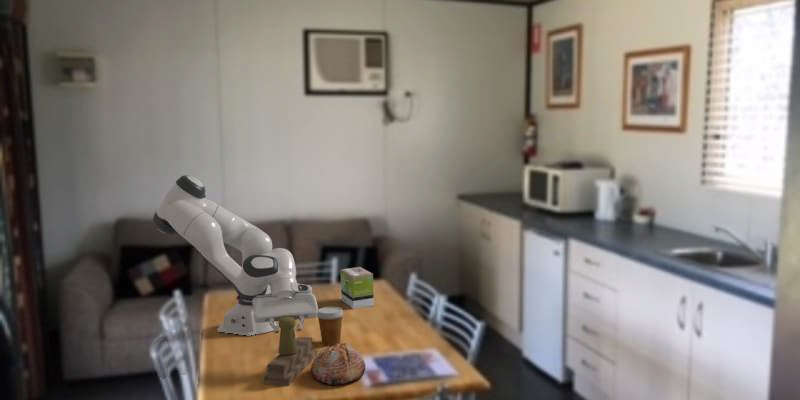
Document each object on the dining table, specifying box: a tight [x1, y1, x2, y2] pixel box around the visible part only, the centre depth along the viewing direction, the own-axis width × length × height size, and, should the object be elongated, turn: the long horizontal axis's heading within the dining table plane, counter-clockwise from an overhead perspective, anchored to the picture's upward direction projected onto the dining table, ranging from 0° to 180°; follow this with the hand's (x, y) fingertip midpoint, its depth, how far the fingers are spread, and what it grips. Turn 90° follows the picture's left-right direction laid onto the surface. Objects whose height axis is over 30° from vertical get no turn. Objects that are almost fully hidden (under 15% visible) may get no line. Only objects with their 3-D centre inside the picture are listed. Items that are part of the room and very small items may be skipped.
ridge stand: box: [263, 336, 318, 386], centre depth 205 cm, size 26×8×6 cm, turn 169°
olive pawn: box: [278, 317, 298, 355], centre depth 202 cm, size 6×6×11 cm
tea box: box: [339, 266, 375, 310], centre depth 280 cm, size 15×10×15 cm, turn 25°
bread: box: [310, 342, 366, 386], centre depth 199 cm, size 16×20×10 cm
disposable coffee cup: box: [317, 306, 344, 346], centre depth 229 cm, size 10×10×12 cm
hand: (287, 331), depth 202 cm, fingers open, 6 cm apart
